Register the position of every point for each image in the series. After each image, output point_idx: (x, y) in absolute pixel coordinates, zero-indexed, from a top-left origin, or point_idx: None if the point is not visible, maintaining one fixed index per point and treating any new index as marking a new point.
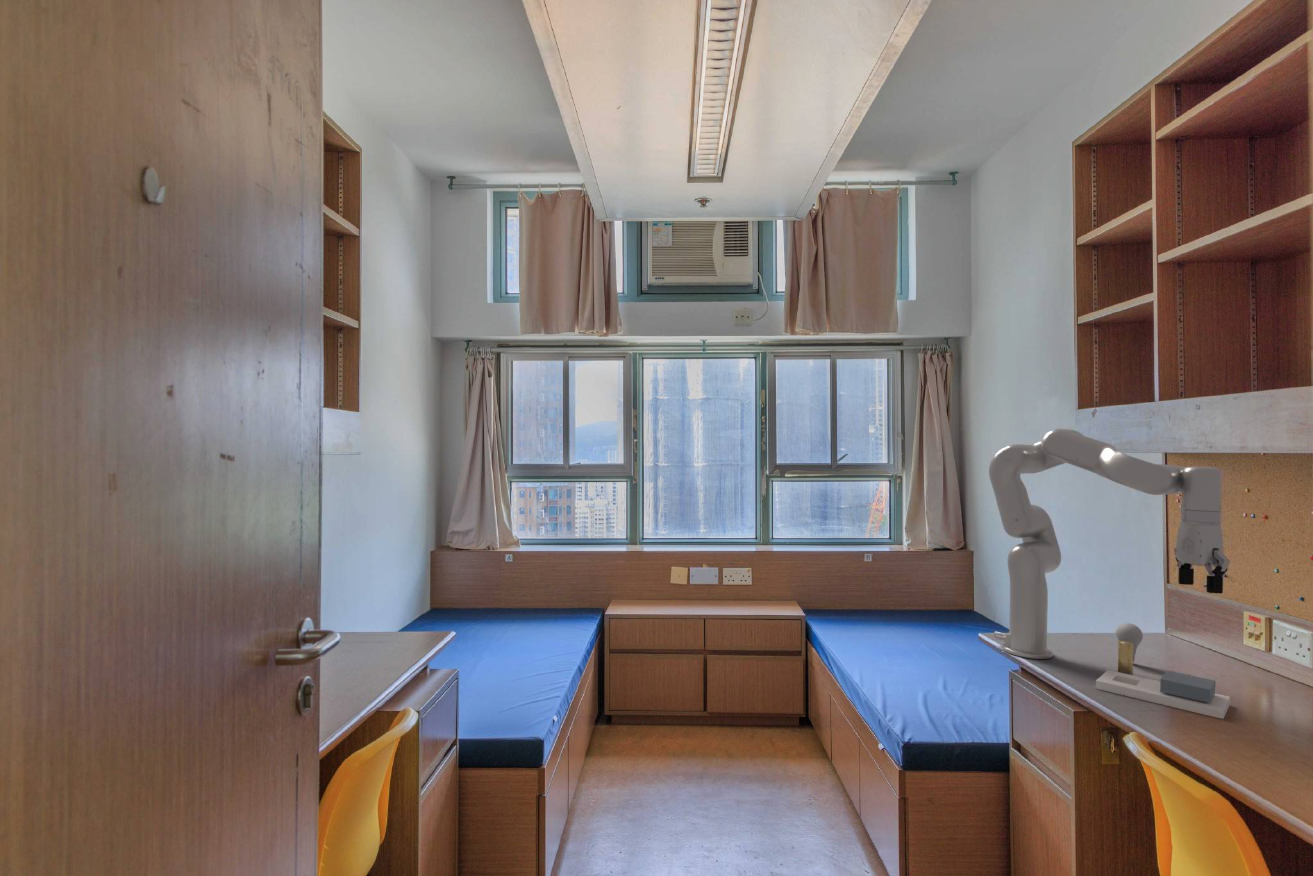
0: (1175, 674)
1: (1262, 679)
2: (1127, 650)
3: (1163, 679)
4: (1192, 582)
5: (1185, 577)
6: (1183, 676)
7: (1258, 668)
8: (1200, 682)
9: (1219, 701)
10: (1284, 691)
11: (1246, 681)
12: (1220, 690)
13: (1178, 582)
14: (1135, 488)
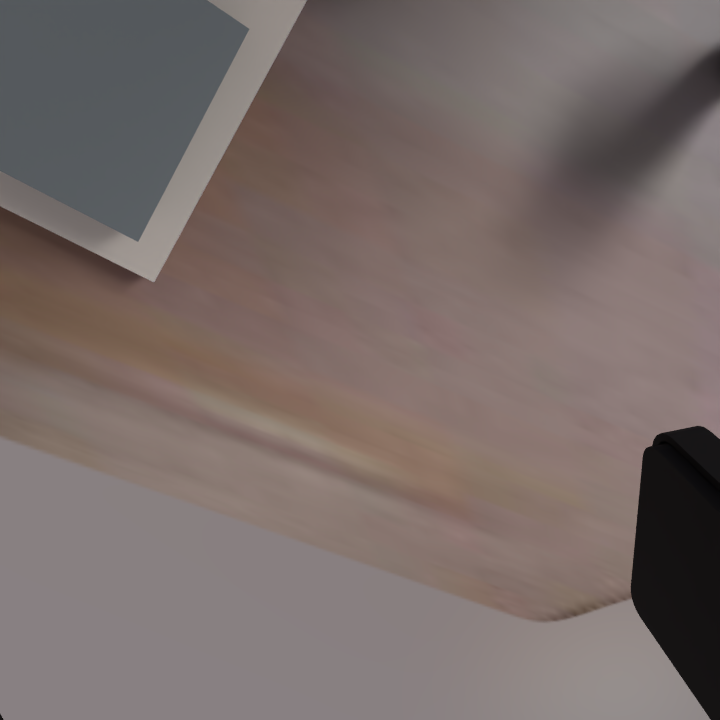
0: (169, 42)
1: (566, 534)
2: None
3: None
4: (651, 616)
5: (713, 593)
6: (143, 77)
7: None
8: (46, 129)
9: (32, 190)
10: (438, 545)
11: (531, 474)
12: (380, 326)
13: (705, 430)
14: None
